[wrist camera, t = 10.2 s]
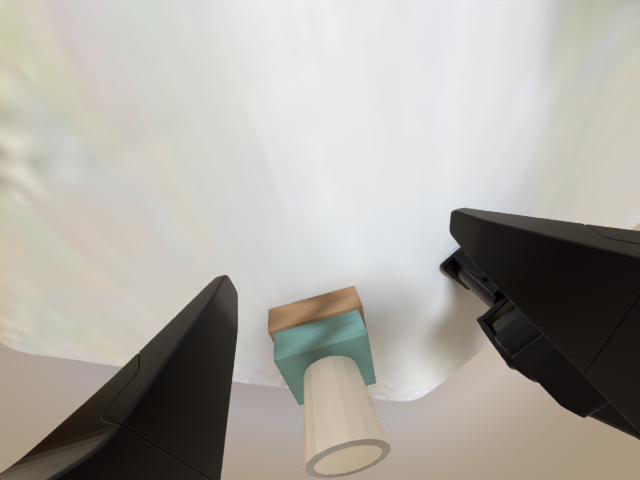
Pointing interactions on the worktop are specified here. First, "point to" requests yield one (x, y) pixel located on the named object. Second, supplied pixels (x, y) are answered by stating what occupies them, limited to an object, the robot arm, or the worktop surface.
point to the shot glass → (339, 420)
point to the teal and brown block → (319, 336)
